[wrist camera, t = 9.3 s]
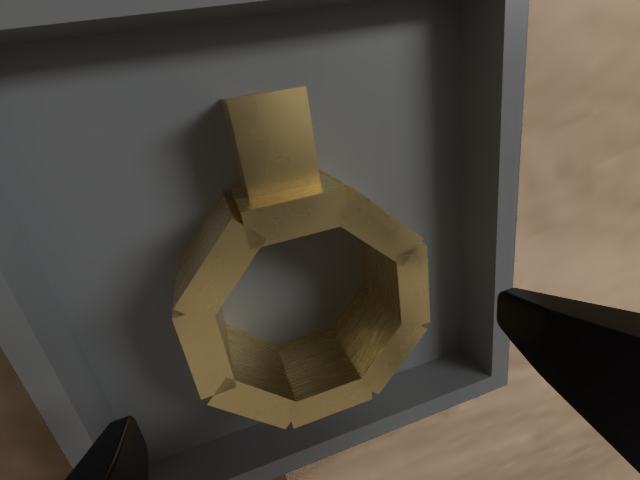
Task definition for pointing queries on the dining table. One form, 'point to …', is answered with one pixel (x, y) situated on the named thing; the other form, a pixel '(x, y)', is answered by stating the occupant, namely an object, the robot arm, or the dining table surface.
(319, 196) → the ring
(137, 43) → the tray
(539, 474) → the dining table surface
